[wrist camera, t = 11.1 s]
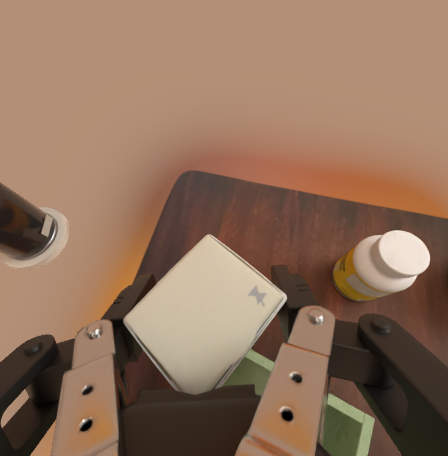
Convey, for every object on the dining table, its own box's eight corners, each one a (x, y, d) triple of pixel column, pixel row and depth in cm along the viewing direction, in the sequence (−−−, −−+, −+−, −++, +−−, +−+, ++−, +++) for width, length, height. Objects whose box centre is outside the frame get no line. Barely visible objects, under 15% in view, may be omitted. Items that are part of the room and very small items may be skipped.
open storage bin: (164, 461, 26) (125, 521, 18) (223, 333, 32) (216, 330, 23) (289, 557, 23) (320, 692, 14) (333, 395, 28) (375, 419, 19)
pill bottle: (358, 251, 35) (408, 212, 25) (388, 291, 33) (457, 267, 22) (320, 268, 35) (355, 236, 24) (348, 311, 32) (400, 295, 22)
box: (227, 284, 20) (213, 225, 10) (267, 320, 19) (296, 292, 9) (182, 334, 19) (115, 320, 9) (221, 378, 17) (196, 420, 7)
